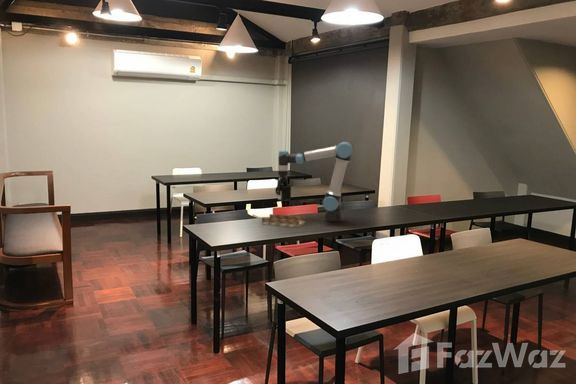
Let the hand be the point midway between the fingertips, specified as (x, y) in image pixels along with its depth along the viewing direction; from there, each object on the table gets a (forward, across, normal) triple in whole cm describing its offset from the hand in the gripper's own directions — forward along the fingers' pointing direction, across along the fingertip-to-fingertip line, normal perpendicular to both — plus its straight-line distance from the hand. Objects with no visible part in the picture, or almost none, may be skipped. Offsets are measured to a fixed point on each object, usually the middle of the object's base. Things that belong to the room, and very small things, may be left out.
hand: (282, 198), depth 371 cm
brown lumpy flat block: (+18, +9, +6) cm, 21 cm away
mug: (+2, 0, 0) cm, 2 cm away
